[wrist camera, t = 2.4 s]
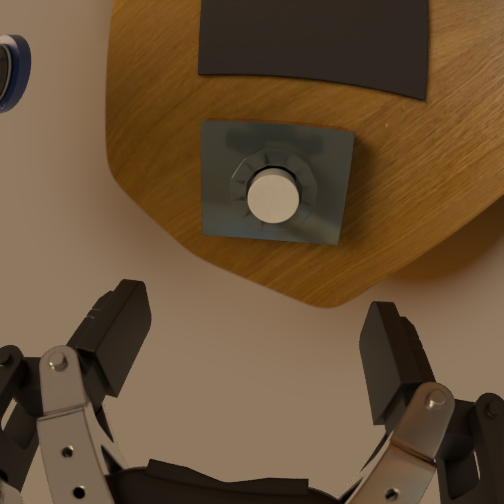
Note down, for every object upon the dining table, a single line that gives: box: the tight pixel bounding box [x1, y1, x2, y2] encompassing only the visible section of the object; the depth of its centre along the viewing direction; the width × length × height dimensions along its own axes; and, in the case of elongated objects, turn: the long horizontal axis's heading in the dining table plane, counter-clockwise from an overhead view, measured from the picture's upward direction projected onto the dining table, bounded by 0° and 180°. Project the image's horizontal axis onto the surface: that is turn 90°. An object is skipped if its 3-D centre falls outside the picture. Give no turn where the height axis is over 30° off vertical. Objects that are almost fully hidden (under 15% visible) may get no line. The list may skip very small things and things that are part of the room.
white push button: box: [248, 168, 299, 223], centre depth 22 cm, size 4×4×2 cm
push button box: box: [201, 118, 355, 245], centre depth 25 cm, size 12×10×5 cm
